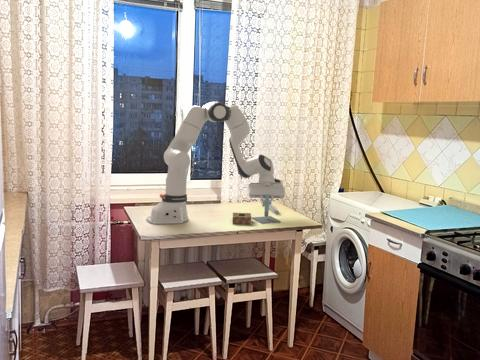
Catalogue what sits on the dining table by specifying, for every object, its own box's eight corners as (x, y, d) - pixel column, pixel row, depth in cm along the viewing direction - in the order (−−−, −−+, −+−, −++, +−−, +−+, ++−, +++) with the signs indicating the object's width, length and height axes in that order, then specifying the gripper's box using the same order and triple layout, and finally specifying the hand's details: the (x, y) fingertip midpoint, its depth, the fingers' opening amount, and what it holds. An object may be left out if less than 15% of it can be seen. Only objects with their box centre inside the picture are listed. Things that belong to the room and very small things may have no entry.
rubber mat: (261, 223, 252) (261, 222, 252) (251, 218, 263) (251, 217, 263) (280, 222, 257) (280, 221, 257) (270, 217, 268) (270, 216, 268)
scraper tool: (264, 216, 258) (265, 195, 256) (264, 215, 261) (265, 194, 259) (268, 216, 258) (269, 195, 257) (267, 215, 261) (268, 194, 259)
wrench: (275, 219, 275) (258, 203, 302) (278, 219, 275) (261, 203, 303) (276, 206, 273) (260, 191, 300) (279, 206, 273) (262, 191, 301)
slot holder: (232, 224, 249) (232, 216, 248) (232, 219, 259) (232, 212, 258) (251, 224, 249) (251, 217, 249) (250, 220, 259) (250, 213, 259)
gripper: (248, 179, 263) (248, 199, 255) (284, 180, 264) (285, 201, 256) (248, 185, 269) (248, 206, 260) (283, 186, 269) (284, 207, 261)
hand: (266, 203), depth 258 cm, fingers closed on scraper tool, 2 cm apart
